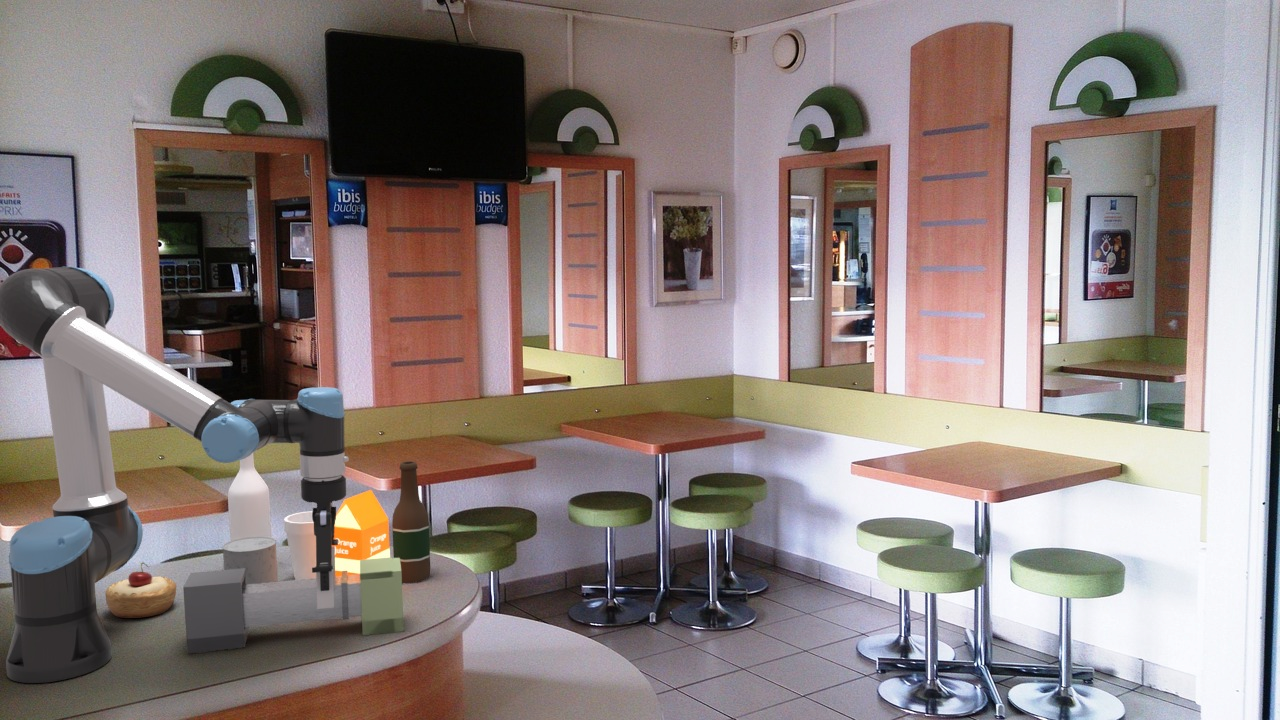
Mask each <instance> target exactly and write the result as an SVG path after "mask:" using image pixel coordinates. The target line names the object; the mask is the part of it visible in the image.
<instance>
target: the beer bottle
mask: <svg viewBox="0 0 1280 720" xmlns="http://www.w3.org/2000/svg"><path fill="white" fill-rule="evenodd" d="M417 469H418V463H417V462H416V461H412V460H407V461H406V460H405V461H403V462H401V463H399V470H400V495H399V502H398V503H397V505H396V506H395V508H394V510H393V513H392V521H391V522H392V523H391V524H392V551H393V552H392V553H393V556H392V557H393V558H400V564H401V574H402V584H403V583H404V584H409V583H410V584H413V583H421V582H423V581H425V580H428V579H430V578H431V552H430V551H431V546H430V544H431V543H430V522H429V515H428V512H427V510H426V506H425V505H424V503H423V502H422V501H421V499H420V495H419V484H418V475H417Z"/></svg>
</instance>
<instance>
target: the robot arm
mask: <svg viewBox="0 0 1280 720" xmlns="http://www.w3.org/2000/svg"><path fill="white" fill-rule="evenodd" d="M114 298H115V297H114V295H113V292H112V290H111V288H110V287H109V285H108V284H107V282H106V281H105V280H104V278H102V277H100V276H99V275H98V274H97V273H95V272H94V271H92V270H88V269H87V268H82V267H75V266H59V267H47V268H46V267H44V268H27V269H22V270H18V271H16V272H14V273H12V274H10V275H9V276H7V277H5V279H4V280H3V281H2V282H1V283H0V327H1V328H2V329H3V331H5V333H7V334H8V336H10V337H11V338H13V339H14V340H15V341H17V342H18V343H20V344H21V345H23V346H25V347H26V348H28V350H30V351H32V352H33V353H35V354H36V355H38V356H39V357H40V358H41V359H42V362H43V363H42V364H43V370H44V371H43V372H44V379H45V385H46V392H47V401H48V408H49V415H50V423H51V430H52V438H53V445H54V454H55V460H56V468H57V473H58V475H57V476H58V485H59V489H60V496H59V497H58V499H57V500H56V501H55V503H53V505H52V508H51V509H52V513H53V514H52V515H53V517H52V516H51V517H47V518H43V519H42V520H41V521H40V520H39V521H33V522H30V523H28V524H26V525H23V526H22V527H20V528H19V529H18V530H16V532H15V533H14V534H13V535H12V536H11V538H10V541H9V554H8V563H9V565H10V575H11V586H12V600H13V609H14V622H15V628H14V631H13V633H12V638H11V642H10V645H9V648H8V653H7V656H6V659H5V669H6V676H7V678H8V679H10V680H12V681H13V682H19V683H25V684H40V683H51V682H58V681H63V680H68V679H72V678H76V677H80V676H83V675H86V674H88V673H90V672H93V671H95V670H97V669H99V668H101V667H103V666H104V665H106V664H107V663H108V662H110V660H111V659H112V656H113V653H112V643H111V640H110V638H109V635H108V633H107V630H105V626H104V625H103V622H102V621H101V619H100V616H99V614H98V611H97V610H98V609H97V596H96V595H97V594H96V584H97V583H98V582H100V581H101V580H103V579H104V578H106V577H107V576H109V575H111V574H112V573H113V572H116V571H118V570H120V569H122V568H123V567H124V566H125V565H126V564H128V562H129V561H130V560H131V559H132V558H133V557H134V556H135V555H136V554H137V552H138V551H139V549H140V546H141V544H142V541H143V534H144V533H143V531H144V530H143V524H142V521H141V519H140V517H139V515H138V514H137V512H135V511H134V510H132V507H130V506H129V503H128V502H129V501H128V496H127V493H125V492H124V491H122V490H120V489H119V488H118V487H117V484H116V475H115V468H114V459H113V453H112V446H111V445H112V443H111V437H110V431H109V429H110V428H109V422H108V414H107V405H106V399H105V390H104V386H106V387H107V388H110V389H111V390H112V391H114V392H116V393H118V394H119V395H121V396H122V397H124V398H125V399H128V400H130V401H131V402H133V403H134V404H137V405H138V406H140V407H141V408H143V409H145V410H146V411H148V412H149V413H151V414H153V415H155V416H157V417H159V418H160V419H161V420H163V421H165V422H167V423H169V424H170V425H172V426H174V427H175V428H177V429H179V430H181V431H182V432H184V433H186V434H187V435H189V436H191V437H192V438H194V439H196V440H197V441H199V442H201V446H202V448H203V450H204V452H205V453H206V455H207V456H208V457H209V458H211V460H213V461H216V462H219V463H223V464H231V463H234V462H235V463H236V462H238V461H240V460H242V459H245V458H246V457H248V456H250V455H251V454H252V453H253V454H254V453H255V452H256V451H258V450H260V449H262V448H264V447H265V446H267V445H270V444H299V469H300V471H299V472H300V473H299V474H300V476H301V477H302V478H301V480H300V490H301V491H300V493H301V494H300V495H301V499H302V500H303V501H304V502H307V503H313V504H314V503H315V504H316V507H312V511H313V512H312V519H313V522H314V535H315V536H316V567H314V568H312V573H315V572H316V583H317V609H321V608H334V590H333V577H335V546H334V547H332V545H338V539H334V537H335V535H334V533H335V520H336V514H337V506H333V502H339V501H341V500H344V498H345V497H346V496H347V478H346V477H345V476H344V474H345V473H346V463H348V462H349V461H350V458H349V456H346V455H345V452H346V447H345V417H346V413H345V410H344V409H345V408H344V397H343V393H342V391H341V389H339V388H336V387H329V386H325V387H324V386H319V387H307V388H303V389H301V390H299V391H298V393H297V399H291V400H290V399H289V400H288V399H255V398H249V399H239V400H238V399H237V400H233V401H231V402H228V401H227V400H225V399H224V398H222V397H221V396H219V395H217V394H215V393H214V392H213V391H211V390H209V389H207V388H205V387H204V386H203V385H201V384H199V383H197V382H195V381H194V380H193V379H191V378H189V377H187V376H185V375H184V374H182V373H181V372H179V371H177V370H175V369H174V368H172V367H171V366H169V365H167V364H165V363H164V362H162V361H160V360H159V359H157V358H156V357H153V356H152V355H150V354H149V353H147V352H145V351H143V350H142V349H140V348H138V347H137V346H135V345H133V344H132V343H130V342H129V341H127V340H125V339H123V338H121V337H120V336H118V335H117V334H115V333H113V332H111V330H108V329H107V328H106V326H107V325H108V324H109V322H110V320H111V319H112V317H113V314H114V312H115V299H114Z"/></svg>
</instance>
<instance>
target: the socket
mask: <svg viewBox="0 0 1280 720" xmlns="http://www.w3.org/2000/svg"><path fill="white" fill-rule="evenodd" d="M360 583H361V606H362V616H361V622H362V623H361V625H362V636H369V635H370V634H372V635H378V634H379V635H380V634H381V635H382V634H389V633H390V634H391V633H398V632H399V633H400V632H404V631H405V629H404V605H403V602H404V600H403V582H402V574H401V564H400V558H394V557H392V556H390V557H389V558H377V559H365V560H360ZM370 636H371V635H370Z"/></svg>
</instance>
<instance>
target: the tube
mask: <svg viewBox="0 0 1280 720" xmlns="http://www.w3.org/2000/svg"><path fill="white" fill-rule="evenodd" d="M333 590H334V608H321V609H317V583H316V578H313V579H302V580H295V579H293V580H282V581H281V580H280V581H278V582H269V583H258V584H246V585H242V602H243V620H244V628H246V627H249V628H255V627H263V626H265V627H266V626H276V625H286V624H294V623H295V624H296V623H304V622H305V623H307V622H313V621H314V622H315V621H325V620H334V619H342V621H345V620H350V618H355V617H362V606H361V583H360V574H358V575H348V571H342V576H336V577H333Z"/></svg>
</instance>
